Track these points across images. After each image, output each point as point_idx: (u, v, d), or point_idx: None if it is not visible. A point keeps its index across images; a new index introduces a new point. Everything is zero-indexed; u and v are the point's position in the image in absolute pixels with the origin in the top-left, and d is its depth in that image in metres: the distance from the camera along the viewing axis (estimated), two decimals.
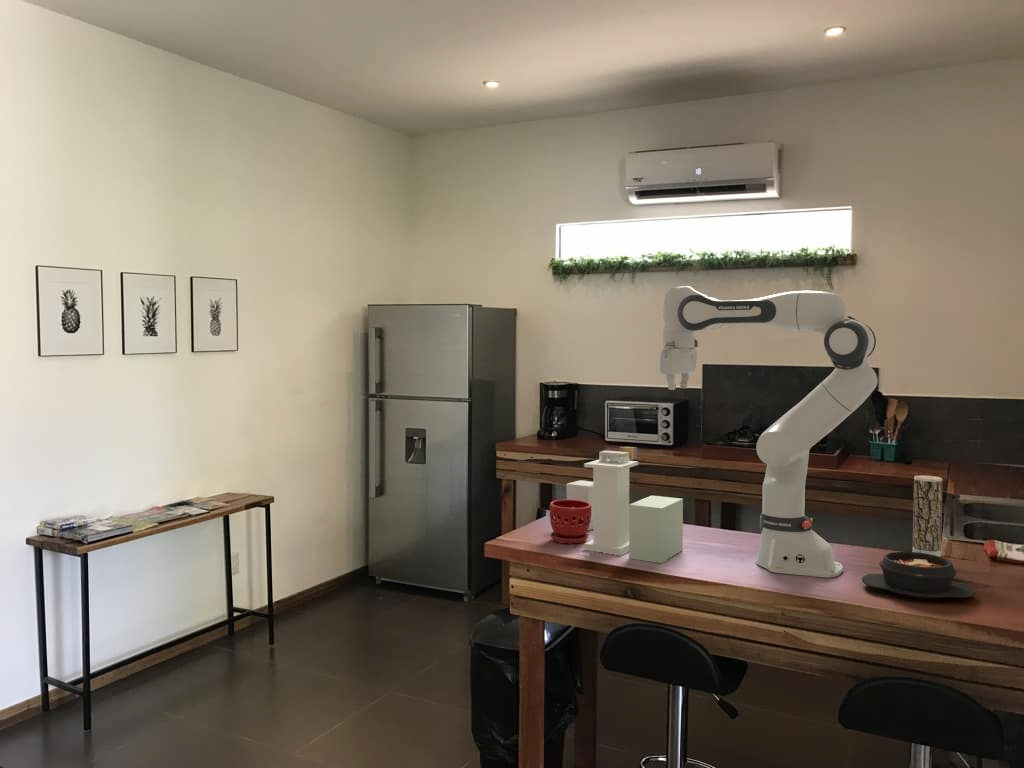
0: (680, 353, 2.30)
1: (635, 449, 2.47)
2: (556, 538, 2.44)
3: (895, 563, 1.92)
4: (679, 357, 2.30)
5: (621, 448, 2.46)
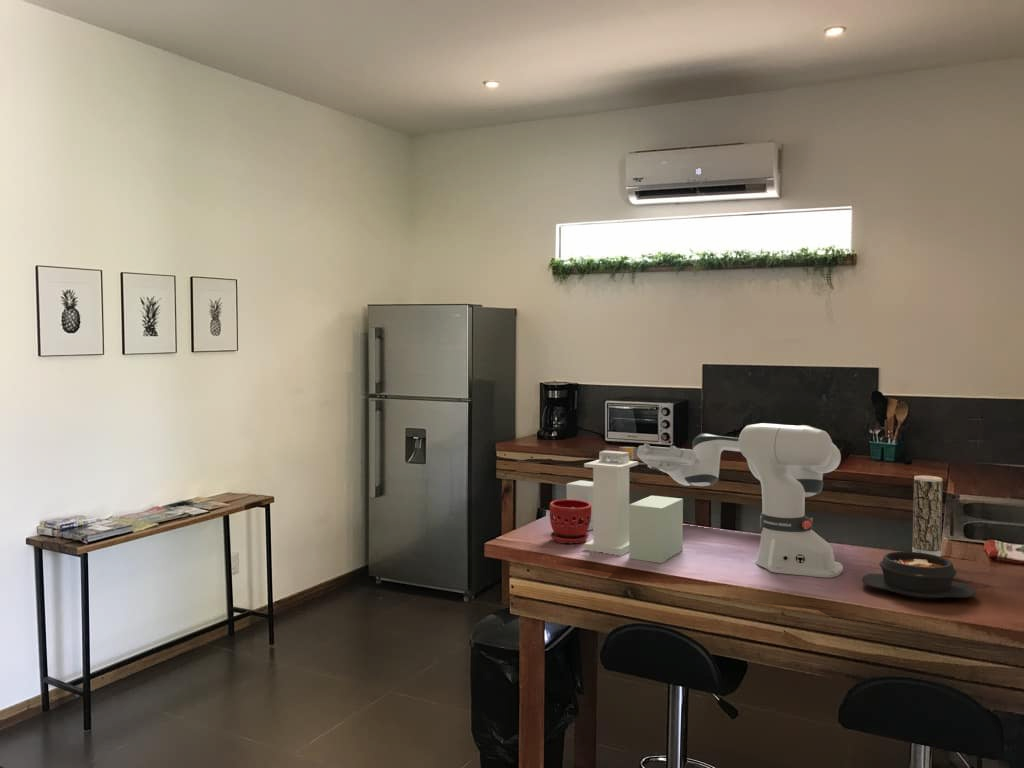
0: (676, 463, 2.71)
1: (635, 449, 2.47)
2: (556, 538, 2.44)
3: (895, 563, 1.92)
4: (676, 461, 2.70)
5: (621, 448, 2.46)
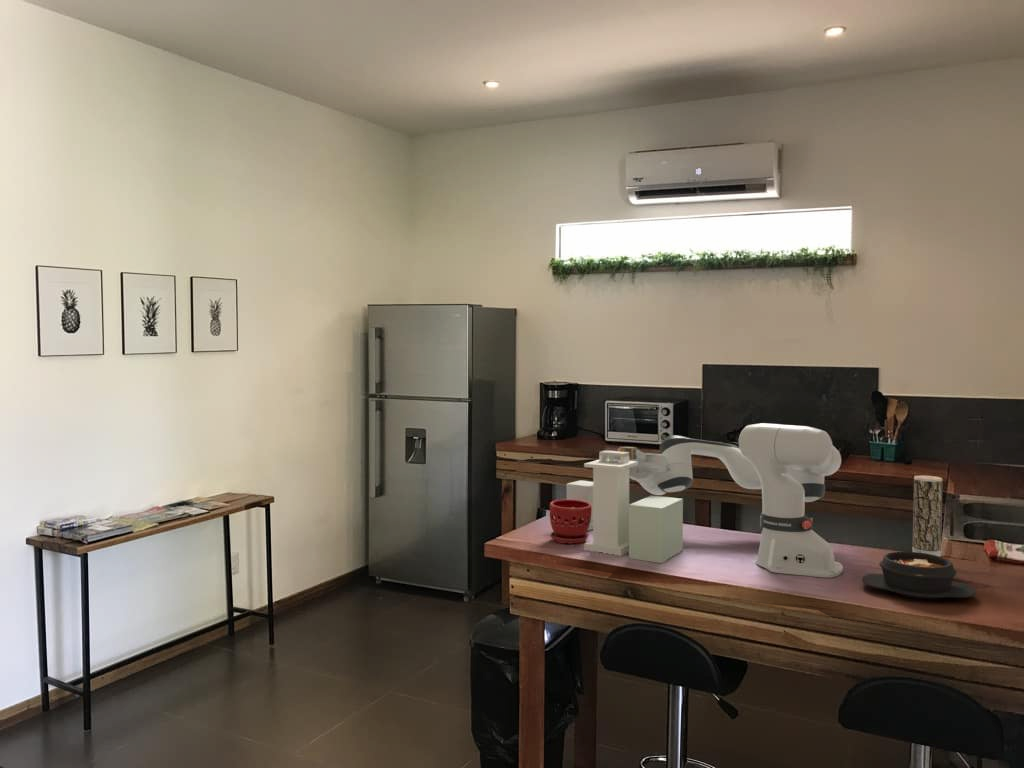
0: (647, 470, 2.52)
1: (635, 449, 2.47)
2: (556, 538, 2.44)
3: (895, 563, 1.92)
4: (646, 468, 2.52)
5: (621, 448, 2.46)
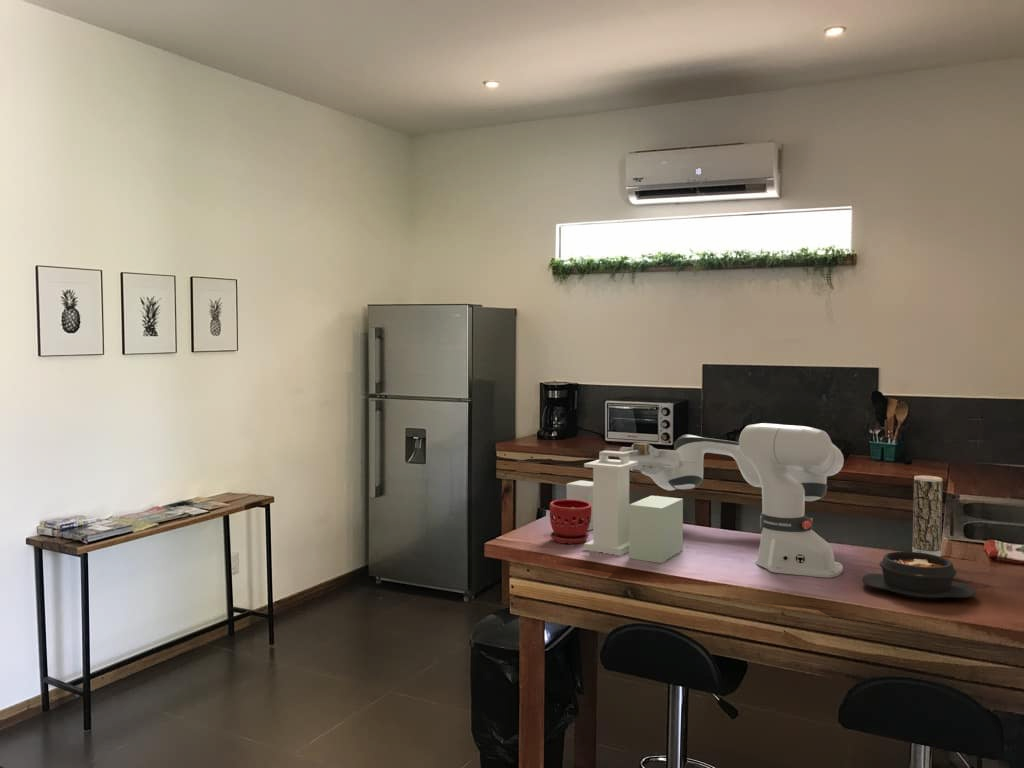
0: (659, 465, 2.61)
1: (648, 445, 2.56)
2: (556, 538, 2.44)
3: (895, 563, 1.92)
4: (659, 463, 2.60)
5: (635, 444, 2.55)
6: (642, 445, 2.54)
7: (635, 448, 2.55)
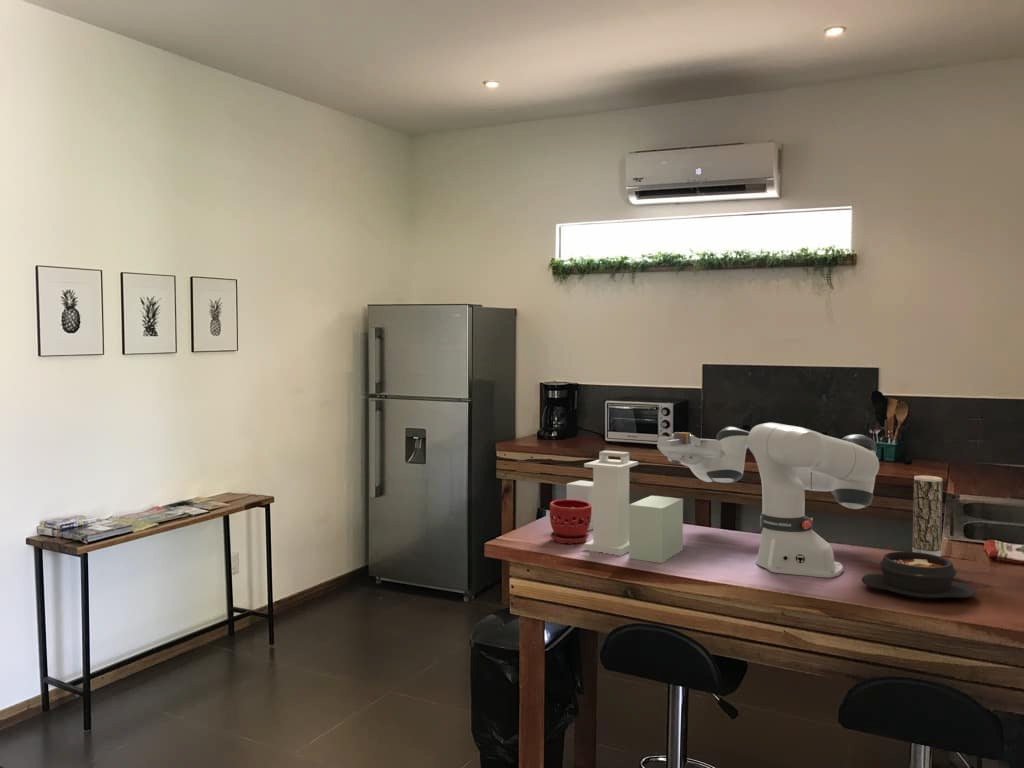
0: (700, 455, 2.53)
1: (689, 434, 2.47)
2: (556, 538, 2.44)
3: (895, 563, 1.92)
4: (700, 453, 2.52)
5: (676, 433, 2.47)
6: (683, 434, 2.46)
7: (676, 437, 2.47)
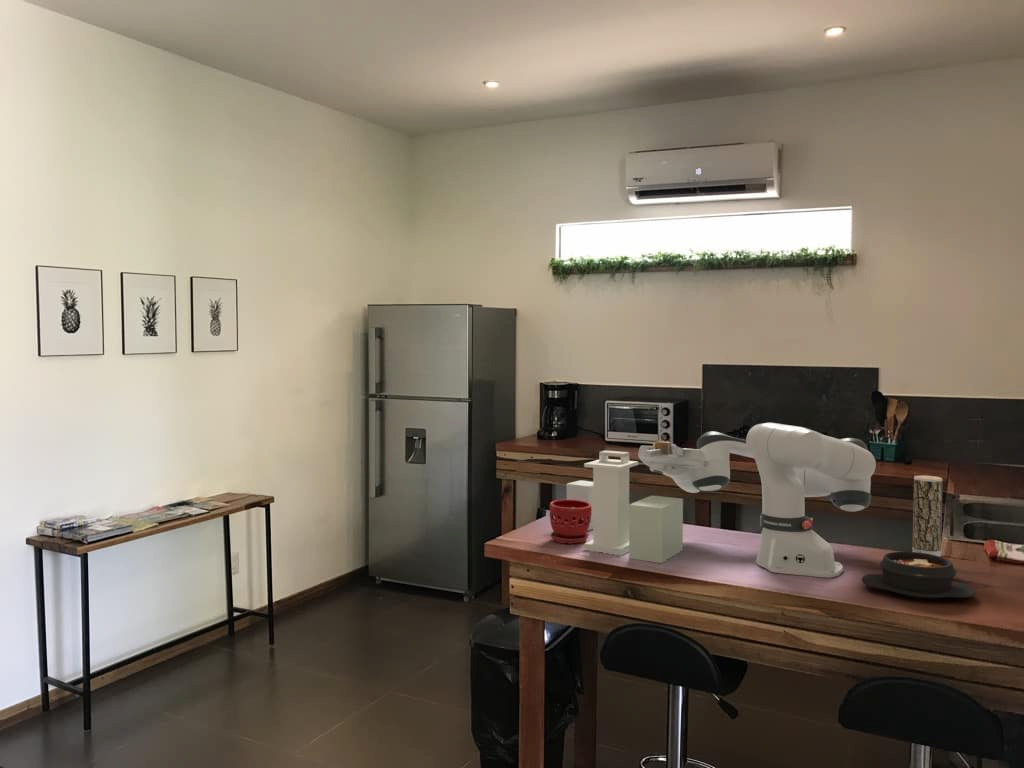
0: (683, 466, 2.41)
1: None
2: (556, 538, 2.44)
3: (895, 563, 1.92)
4: (682, 463, 2.40)
5: (657, 443, 2.35)
6: (665, 443, 2.33)
7: (657, 447, 2.35)
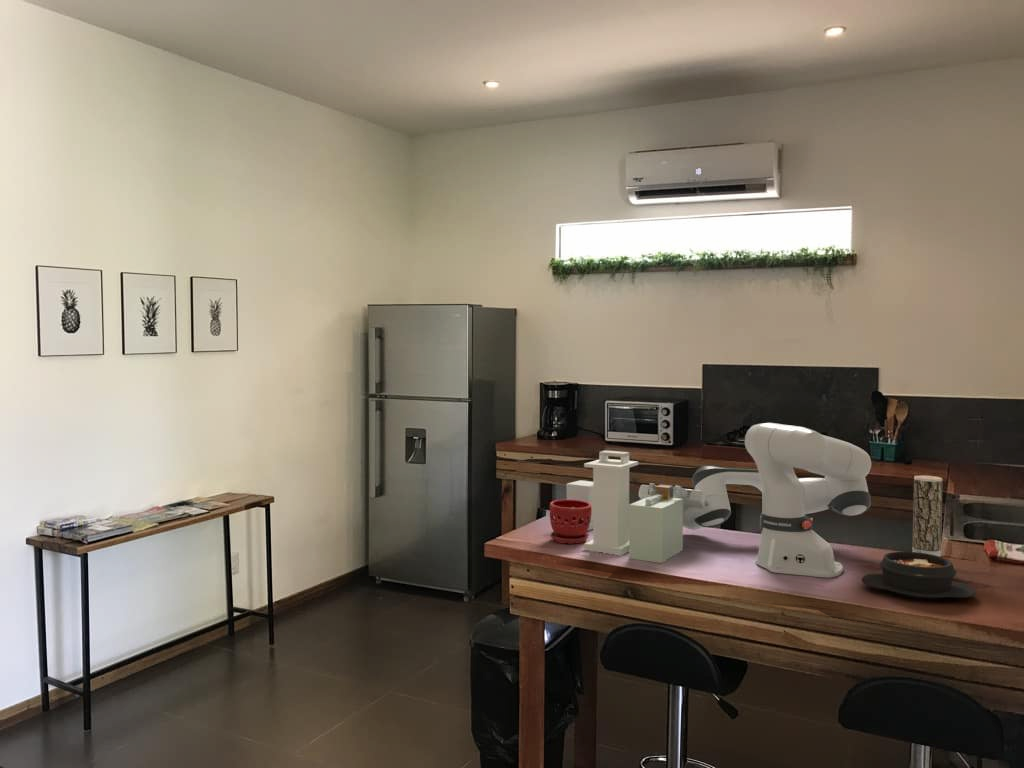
0: (683, 505, 2.41)
1: (671, 488, 2.35)
2: (556, 538, 2.44)
3: (895, 563, 1.92)
4: (683, 503, 2.40)
5: (657, 487, 2.35)
6: (665, 488, 2.34)
7: (657, 491, 2.35)
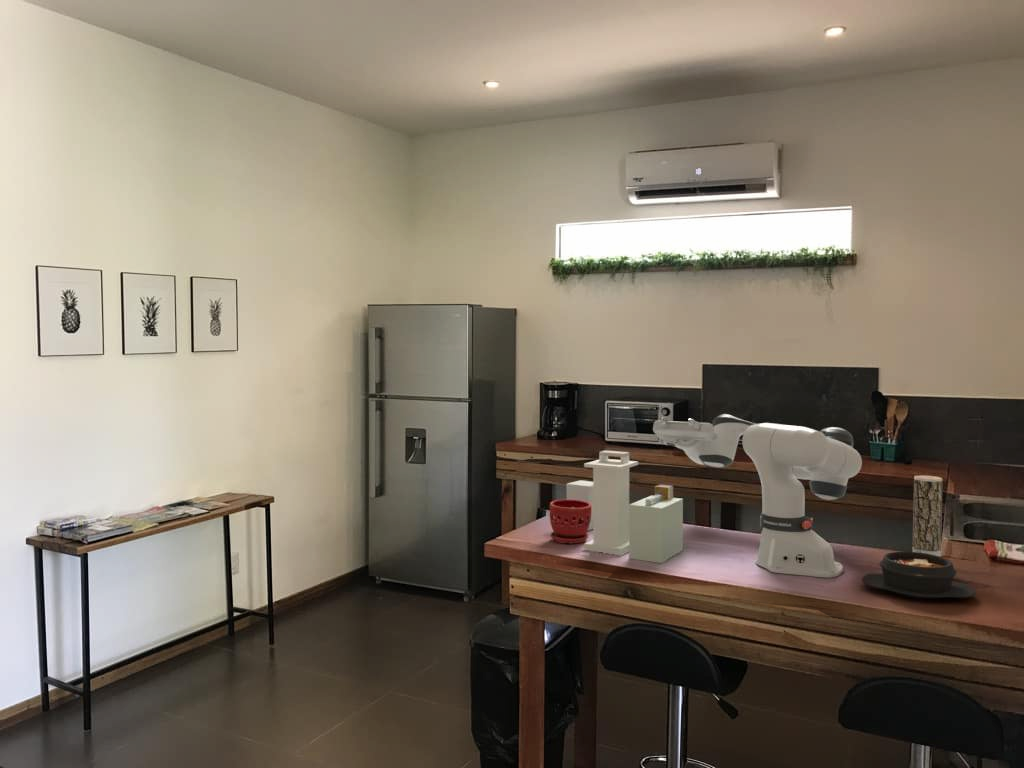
0: (694, 438, 2.65)
1: (671, 488, 2.35)
2: (556, 538, 2.44)
3: (895, 563, 1.92)
4: (693, 436, 2.64)
5: (657, 487, 2.35)
6: (665, 488, 2.34)
7: (657, 491, 2.35)
